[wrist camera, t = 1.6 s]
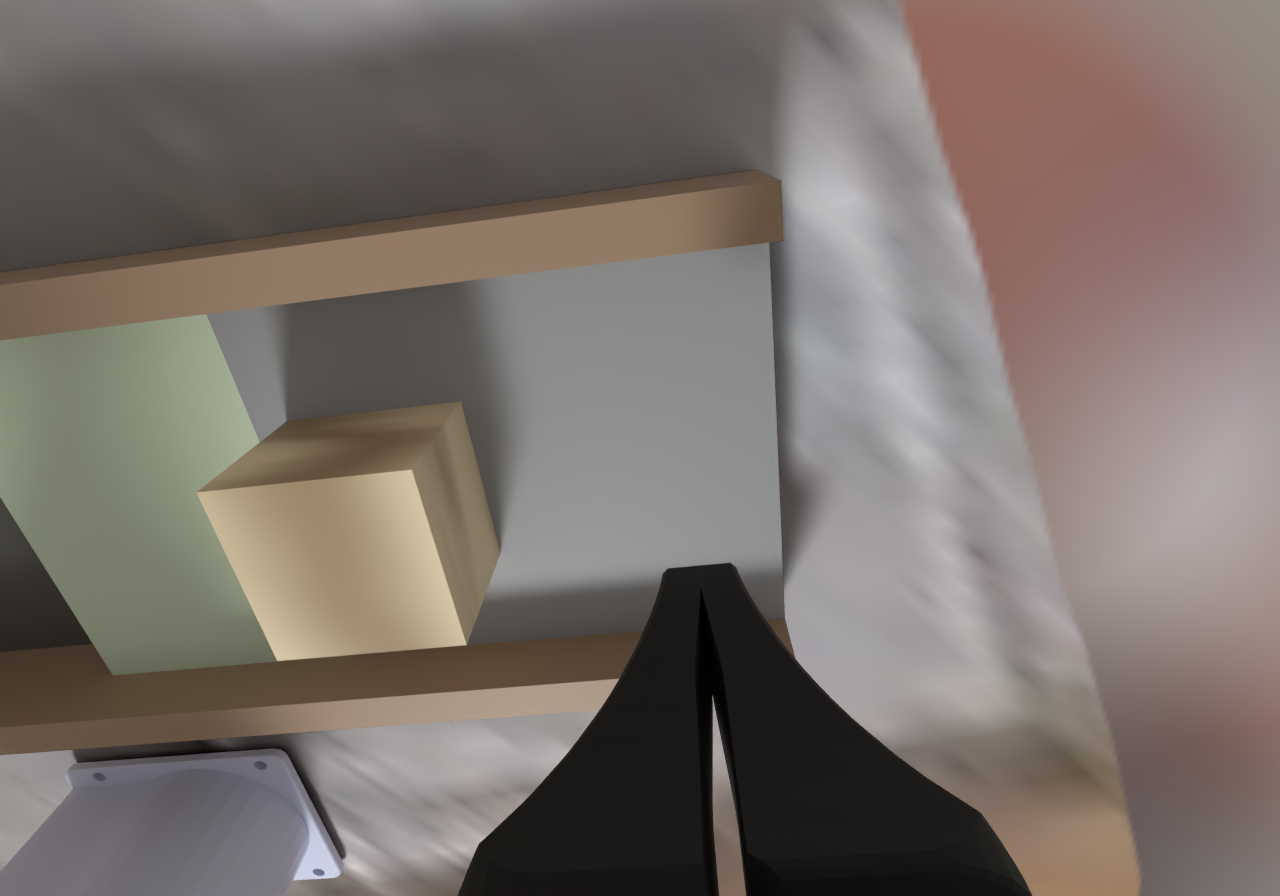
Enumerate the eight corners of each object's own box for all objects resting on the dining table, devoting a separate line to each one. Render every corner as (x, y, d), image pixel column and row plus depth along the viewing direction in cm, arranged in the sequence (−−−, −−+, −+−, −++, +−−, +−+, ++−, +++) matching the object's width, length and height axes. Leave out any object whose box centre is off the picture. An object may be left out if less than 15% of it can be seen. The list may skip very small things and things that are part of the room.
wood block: (344, 567, 20) (277, 660, 17) (286, 421, 18) (195, 492, 15) (500, 553, 20) (466, 644, 16) (460, 401, 18) (411, 469, 14)
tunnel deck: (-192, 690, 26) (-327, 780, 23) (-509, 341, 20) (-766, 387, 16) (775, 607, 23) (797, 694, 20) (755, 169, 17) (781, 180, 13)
